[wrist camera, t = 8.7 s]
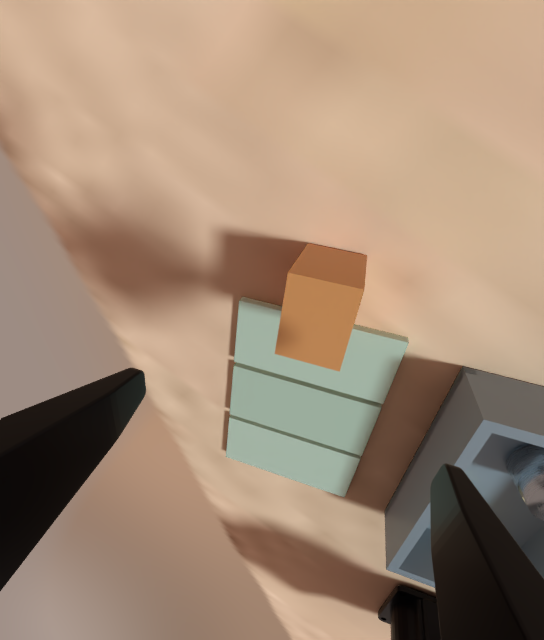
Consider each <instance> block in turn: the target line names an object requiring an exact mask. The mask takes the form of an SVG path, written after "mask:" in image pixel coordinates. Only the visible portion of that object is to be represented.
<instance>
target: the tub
mask: <svg viewBox="0 0 544 640" xmlns="http://www.w3.org/2000/svg"><path fill="white" fill-rule="evenodd" d="M530 444H533V445H536V446H540V447H543V448H544V387H543V386H539V385H535V384H531V383H527V382H523V381H519V380H515V379H511V378H507V377H504V376H500V375H496V374H492V373H488V372H484V371H480V370H476V369H472V368H468V367H464V366H463V367H462V368H461V370H460V372H459V374H458V376H457V378H456V380H455V381H454V383H453V385H452V387H451V389H450V391H449V393H448V394H447V396H446V398H445V400H444V402H443V404H442V405H441V407H440V409H439V411H438V413H437V415H436V417H435V418H434V420H433V422H432V424H431V426H430V428H429V430H428V431H427V433H426V435H425V437H424V439H423V441H422V443H421V444H420V446H419V448H418V450H417V452H416V454H415V456H414V457H413V459H412V461H411V463H410V465H409V467H408V469H407V470H406V472H405V474H404V476H403V478H402V480H401V482H400V483H399V485H398V487H397V489H396V491H395V493H394V495H393V496H392V498H391V500H390V502H389V504H388V506H387V508H386V509H385V541H386V570H389V571H392V572H394V573H397V574H400V575H402V576H405V577H408V578H410V579H413V580H416V581H418V582H421V583H424V584H426V585H429V586H432V587H434V588H435V581H434V573H433V564H432V555H431V525H430V486H431V482H432V480H433V478H434V477H435V475H436V474H437V472H438V470H439V469H440V467H441V466H442V464H444V463H447V464H451V465H454V466H457V467H460V468H461V469H462V470H463V471H464V472H465V473H466V475H467V476H468V478H469V479H470V480H471V482H472V483H473V484H474V486H475V487H476V488H477V490H478V491H479V492H480V494H481V495H482V496H483V498H484V499H485V500H486V502H487V503H488V504H489V506H490V507H491V508H492V510H493V511H494V512H495V514H496V515H497V517H498V518H499V519H500V521H501V522H502V523H503V525H504V526H505V527H506V529H507V530H508V531H509V533H510V534H511V535H512V537H513V538H514V539H515V541H516V542H517V543H518V545H519V546H520V547H521V549H522V550H523V552H524V553H525V554H526V556H527V557H528V558H529V560H530V561H531V562H532V564H533V565H534V566H535V568H536V569H537V570H538V572H539V573H540V574H541V576H542V577H543V578H544V520H541V519H539V518H537V517H535V516H534V515H533V514H532V513H531V512H530V511H529V509H528V507H527V505H526V504H525V502H524V500H523V498H522V496H521V495H520V493H519V491H518V489H517V487H516V486H515V484H514V482H513V480H512V478H511V476H510V475H509V473H508V471H507V469H506V460H507V458H508V457H509V455H510V454H511V453H512V452H514V451H515V450H517V449H519V448H521V447H523V446H526V445H530Z"/></svg>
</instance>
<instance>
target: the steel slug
mask: <svg viewBox="0 0 544 640" xmlns="http://www.w3.org/2000/svg"><path fill="white" fill-rule="evenodd" d="M506 469H507V471H508V473H509V475H510V476H511V478H512V480H513V482H514V484H515V486H516V487H517V489H518V491H519V493H520V495H521V496H522V498H523V500H524V502H525V504H526V505H527V507H528V509H529V511H530V512H531V513H532V514H533V515H534V516H535V517H537V518H539V519H541V520H544V448H543V447H540V446H536V445H533V444H530V445H526V446H523V447H521V448H519V449H517V450H515V451H514V452H512V453H511V454H510V455H509V457H508V458H507V460H506Z"/></svg>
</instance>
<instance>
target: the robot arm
mask: <svg viewBox="0 0 544 640" xmlns="http://www.w3.org/2000/svg"><path fill="white" fill-rule="evenodd" d="M145 393H146V386H145V376H144V372H143V371H142V370H138V369H135V368H128V369H125V370H123V371H120V372H118V373H115V374H113V375H110V376H108V377H105V378H102V379H100V380H97V381H95V382H92V383H90V384H87V385H85V386H82V387H80V388H77V389H75V390H72V391H69V392H67V393H65V394H62V395H60V396H57V397H54V398H52V399H49V400H47V401H44V402H41V403H39V404H36V405H34V406H31V407H29V408H26V409H24V410H21V411H19V412H16V413H14V414H11V415H8V416H6V417H3V418H1V420H0V591H1V590H2V588H3V587H4V586H5V585H6V583H7V582H8V581H9V579H10V578H11V577H12V575H13V574H14V573H15V572H16V570H17V569H18V568H19V566H20V565H21V564H22V562H23V561H24V560H25V559H26V557H27V556H28V555H29V553H30V552H31V551H32V550H33V548H34V547H35V546H36V544H37V543H38V542H39V540H40V539H41V538H42V537H43V535H44V534H45V533H46V531H47V530H48V529H49V527H50V526H51V525H52V524H53V522H54V521H55V520H56V518H57V517H58V515H60V513H61V512H62V511H63V509H64V508H65V507H66V505H67V504H68V503H69V502H70V500H71V499H72V498H73V496H74V495H75V493H76V492H77V491H78V490H79V489H80V487H81V486H82V485H83V484H84V482H85V481H86V480H87V478H88V477H89V476H90V474H91V473H92V472H93V471H94V469H95V468H96V467H97V465H98V464H99V463H100V461H101V460H102V459H103V458H104V456H105V455H106V454H107V452H108V451H109V450H110V449H111V447H112V446H113V444H114V443H115V442H116V440H117V439H118V438H119V436H120V435H121V433H122V432H123V430H124V428H125V427H126V425H127V424H128V422H129V420H130V419H131V417H132V416H133V414H134V412H135V410H136V409H137V408H138V406H139V404H140V403H141V401H142V400H143V398H144V396H145ZM430 525H431V555H432V564H433V573H434V581H435V590H436V598H437V599H436V598H434V597H431V596H429V595H426V594H423V593H421V592H418V591H415V590H413V589H410V588H407V587H405V586H400V585H399V586H397V587H396V588H395V589H394V591H393V592H392V594H391V595H390V596H389V598H388V599H387V600H386V602H385V603H384V605H383V606H382V607H381V609H380V610H379V611H378V618H379V619H380V620H381V621H383V622H386V623H388V624H391V640H544V578H543V577H542V576H541V574H540V573H539V572H538V570H537V569H536V568H535V566H534V565H533V564H532V562H531V561H530V560H529V558H528V557H527V556H526V554H525V553H524V552H523V550H522V549H521V547H520V546H519V545H518V543H517V542H516V541H515V539H514V538H513V537H512V535H511V534H510V533H509V531H508V530H507V529H506V527H505V526H504V525H503V523H502V522H501V521H500V519H499V518H498V517H497V515H496V514H495V512H494V511H493V510H492V508H491V507H490V506H489V504H488V503H487V502H486V500H485V499H484V498H483V496H482V495H481V494H480V492H479V491H478V490H477V488H476V487H475V486H474V484H473V483H472V482H471V480H470V479H469V478H468V476H467V475H466V473H465V472H464V471H463V470H462V469H461V468H460V467H457V466H454V465H451V464H447V463H444V464H442V466H441V467H440V469H439V470H438V472H437V474H436V475H435V477H434V478H433V480H432V482H431V486H430Z"/></svg>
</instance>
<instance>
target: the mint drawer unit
mask: <svg viewBox="0 0 544 640" xmlns="http://www.w3.org/2000/svg"><path fill="white" fill-rule="evenodd" d="M366 262H367V255H362V254H358V253H353V252H348V251H343V250H338V249H333V248H329V247H324V246H319V245H314V244H309V243H308V244H307V246H306V247H305V248H304V250H303V251H302V253H301V254H300V256H299V257H298V259H297V260H296V261H295V263H294V264H293V266H292V267H291V269H290V270H289V271H288V274H287V281H286V287H285V293H284V299H283V305H282V306H278V305H274V304H270V303H266V302H262V301H258V300H254V299H250V298H246V297H242V298H241V299H240V300H239V309H238V321H237V333H236V344H235V356H234V362H236V363H235V364H234V368H233V380H232V391H231V403H230V414H231V415H230V417H229V427H228V438H227V450H226V457H228V458H231V459H234V460H237V461H240V462H243V463H246V464H248V465H251V466H254V467H257V468H260V469H263V470H266V471H269V472H272V473H275V474H277V475H280V476H283V477H286V478H289V479H292V480H295V481H298V482H301V483H304V484H307V485H309V486H312V487H315V488H318V489H321V490H324V491H327V492H330V493H333V494H336V495H339V496H341V497H345V495H346V493H347V490H348V488H349V485H350V483H351V481H352V478H353V476H354V473H355V471H356V468H357V466H358V464H359V461H360V456H362V454H363V452H364V449H365V447H366V444H367V442H368V440H369V437H370V435H371V432H372V430H373V428H374V425H375V423H376V420H377V418H378V415H379V413H380V411H381V404H383V403H384V401H385V399H386V396H387V394H388V391H389V389H390V387H391V384H392V382H393V379H394V377H395V375H396V372H397V370H398V367H399V365H400V362H401V360H402V358H403V355H404V353H405V350H406V348H407V346H408V343H409V342H408V337H404V336H400V335H396V334H392V333H388V332H384V331H379V330H375V329H371V328H367V327H363V326H359V325H355V324H354V322H355V319H356V315H357V312H358V309H359V305H360V302H361V299H362V295H363V292H364V286H365V274H366Z"/></svg>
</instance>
